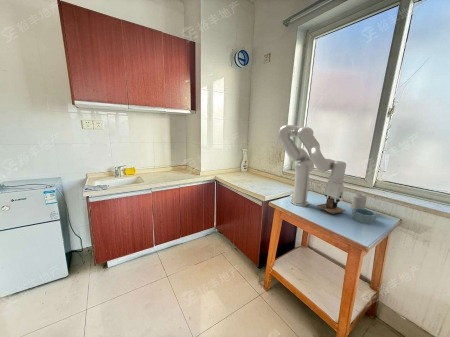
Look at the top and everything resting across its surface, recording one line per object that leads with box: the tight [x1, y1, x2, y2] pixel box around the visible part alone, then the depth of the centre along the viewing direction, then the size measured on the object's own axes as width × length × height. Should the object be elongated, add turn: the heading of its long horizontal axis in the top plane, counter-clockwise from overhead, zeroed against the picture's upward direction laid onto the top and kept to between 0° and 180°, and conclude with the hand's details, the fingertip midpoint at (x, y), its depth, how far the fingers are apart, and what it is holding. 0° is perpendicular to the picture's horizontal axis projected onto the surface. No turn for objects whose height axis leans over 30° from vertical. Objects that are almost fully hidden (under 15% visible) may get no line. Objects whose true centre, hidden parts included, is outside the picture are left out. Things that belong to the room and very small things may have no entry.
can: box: [351, 192, 368, 211], centre depth 128 cm, size 8×8×12 cm
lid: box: [316, 197, 346, 215], centre depth 126 cm, size 12×12×7 cm
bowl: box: [351, 208, 378, 225], centre depth 116 cm, size 11×11×5 cm
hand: (331, 205), depth 127 cm, fingers closed on lid, 4 cm apart
